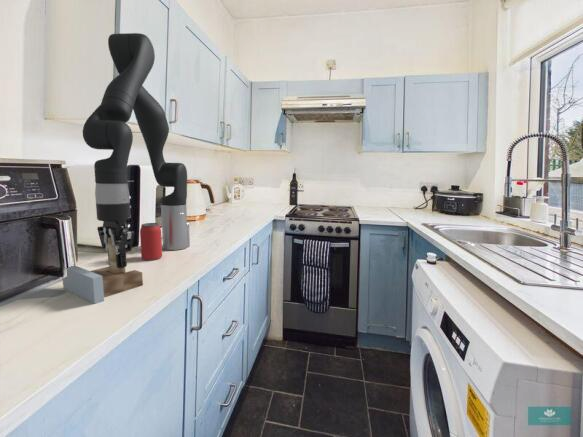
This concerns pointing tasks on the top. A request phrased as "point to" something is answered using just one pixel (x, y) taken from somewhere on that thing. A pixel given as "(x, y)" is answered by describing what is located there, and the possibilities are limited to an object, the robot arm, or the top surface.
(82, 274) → the wall
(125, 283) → the block
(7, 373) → the top surface
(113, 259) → the dowel
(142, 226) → the beer can
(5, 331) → the top surface
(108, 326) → the top surface
